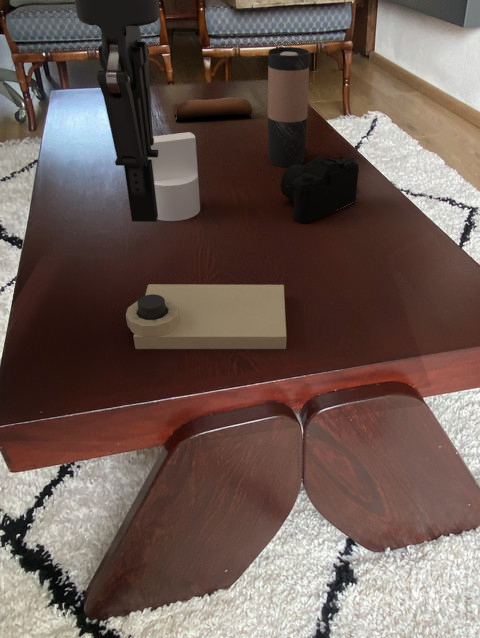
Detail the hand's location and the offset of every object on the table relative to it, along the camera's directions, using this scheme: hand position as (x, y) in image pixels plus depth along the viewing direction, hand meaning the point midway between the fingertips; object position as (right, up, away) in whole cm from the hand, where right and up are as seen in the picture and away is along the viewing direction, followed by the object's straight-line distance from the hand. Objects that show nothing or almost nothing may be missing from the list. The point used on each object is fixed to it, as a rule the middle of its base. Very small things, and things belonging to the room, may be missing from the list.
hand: (145, 218), depth 69 cm
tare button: (0, -10, +4) cm, 11 cm away
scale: (+7, -11, +8) cm, 15 cm away
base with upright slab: (-3, +10, +35) cm, 36 cm away
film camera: (+21, +11, +37) cm, 44 cm away
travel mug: (+17, +25, +54) cm, 62 cm away
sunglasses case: (-1, +44, +77) cm, 89 cm away
